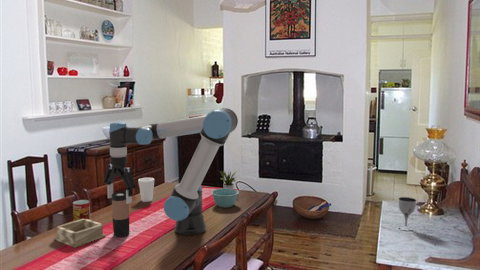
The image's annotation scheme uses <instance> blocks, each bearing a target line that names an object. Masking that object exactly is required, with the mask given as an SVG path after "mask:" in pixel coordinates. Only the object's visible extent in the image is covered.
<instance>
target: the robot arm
mask: <svg viewBox="0 0 480 270" xmlns="http://www.w3.org/2000/svg"><path fill="white" fill-rule="evenodd" d="M238 120H239V119H238V116H237V114H236V112H235V111H234V110H233V109H230V108H227V107H223V108H219V109H213V110H211V111H210V112H208V113H207V114H206V115H200V116H195V117H187V118H181V119H175V120H170V121H165V122H159V123H150V124H147V125H143V126H140V127H139V126H138V127H132V126H131V127H128V126H127V122H123V121H116V122H111V123H109V129H108V130H109V132H108V133H109V155H110V157H109V164H107V166H106V167H107V169H106V171H105V172H106V173H105V175H104V178H103V183H105V184H106V191H107V199H112V194H113V193H114V183H113V182H114V180H115V178H117V176H118V177H120V178H121V179H122V182H123V183H124V185H125V188H126V189H125V192H126V204H128V203H129V204H131V203H132V204H133V195H134V194H133V190H134V189H136V186H137V185H136V183H135V179H134V178H133V175H132V174H133V173H132V170H131V167H129V166H128V167H126V165H127V164H128V155H127V154H128V150H127V149H128V148H127V147H128V145H129V144H131V145H142V146H143V145H150V144H151V143H152V141H155V140H160V139H166V138H168V139H169V138H174V137H180V136H186V135H194V134H200V136H201V139H200V141H199V143H198V144H197V146H196V149H195V151H194V153H193V155H192V158H191V160H190V162H189V164H188V166H187V168H186V169H185V172H184V173H183V177H182V179H181V180H180V182H179V183H177V184H176V185H175V186H174V187H173V190H172V191H171V194H170V196H168V197H167V198H166V200H164V204H163V211H164V213H165V215H166V217H168V218H169V219H170V220H172V221H174V222H175V224H174V232H175V233H176V234H178V235H182V236H196V235H200V234H203V233H205V232H206V231H207V224H206V222H205V218H204V215H203V186H202V183H203V181H204V179H205V177H206V174H207V172H208V170H209V169H210V167H211V164H212V162H213V160H214V158H215V156H216V154H217V152H218V150H219V148H220V147H222V146H224V145H225V143H226V142H227V140H228V138H229V136H230V134H231V133H232V132H233V131H235V130H236V128H237V126H238V122H239V121H238Z"/></svg>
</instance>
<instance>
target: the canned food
mask: <svg viewBox="0 0 480 270" xmlns="http://www.w3.org/2000/svg"><path fill="white" fill-rule="evenodd" d="M72 214H73V215H72V216H73V221H77V220H80V219H89V220H91V207H90V200H88V199H79V200H75V201H73V202H72Z"/></svg>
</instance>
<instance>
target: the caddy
mask: <svg viewBox="0 0 480 270" xmlns="http://www.w3.org/2000/svg"><path fill="white" fill-rule="evenodd" d="M103 227H104V226H103V223H101V222H97V221H94V220H92V219H90V220H89V219H80V220H77V221H74V220H73V221H71V222H67V223H63V224H61V225H60V224H59V225H57V226H56V234H57V235H56V236H55V237H53V238H54V240H55V241H58V242H60V243H62V244H64V245H67V246H69V247H72V248H78V247H81V246H83V245H86V243H87V244H89V243H91V241H92V242H95V241H97V239H98V240H100V238H101V239H102V238H103V239H104V238H106V237H105V236H107V235H106V234H105V233H104V232H103V230H104V229H103ZM94 240H95V241H94Z"/></svg>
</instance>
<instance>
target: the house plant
mask: <svg viewBox="0 0 480 270" xmlns="http://www.w3.org/2000/svg"><path fill="white" fill-rule="evenodd" d="M218 172H220V173H221V176H222V177H220V178H219V179H220V180H222V181H223V182H222V183H223V184H222V187H223V188H226V189H234V187H235V184H234V183H235V182H236V177H234V176H235V175H236V174H237V172H238V171H237V170H236V171H234V172H233V173H232V171H231V170H230V168H229V170H228V173H226V171H225V170H222V172H221V171H219V170H218ZM233 182H234V183H233Z"/></svg>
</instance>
